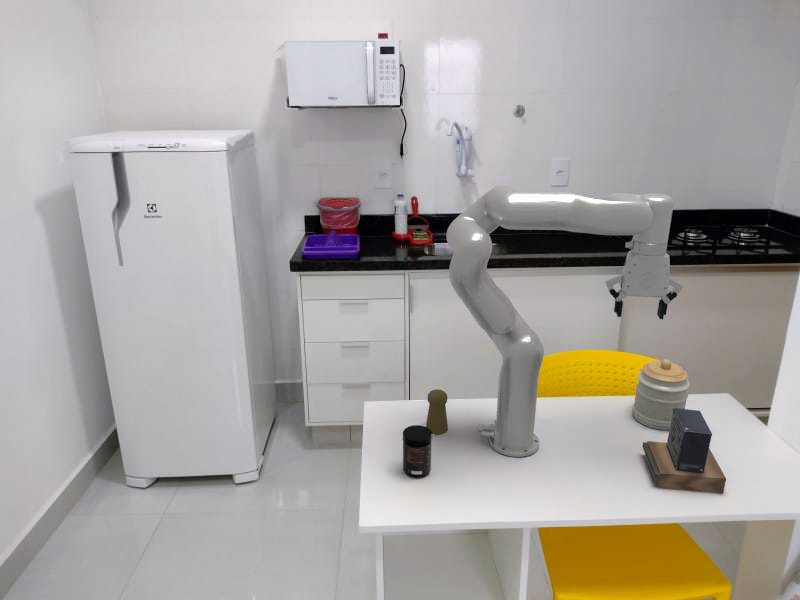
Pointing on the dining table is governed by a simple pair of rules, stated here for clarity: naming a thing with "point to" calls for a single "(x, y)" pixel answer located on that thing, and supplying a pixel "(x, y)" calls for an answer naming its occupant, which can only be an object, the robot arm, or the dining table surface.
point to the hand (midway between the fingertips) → (639, 316)
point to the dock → (680, 479)
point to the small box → (688, 440)
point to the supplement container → (417, 451)
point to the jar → (660, 393)
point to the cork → (437, 412)
